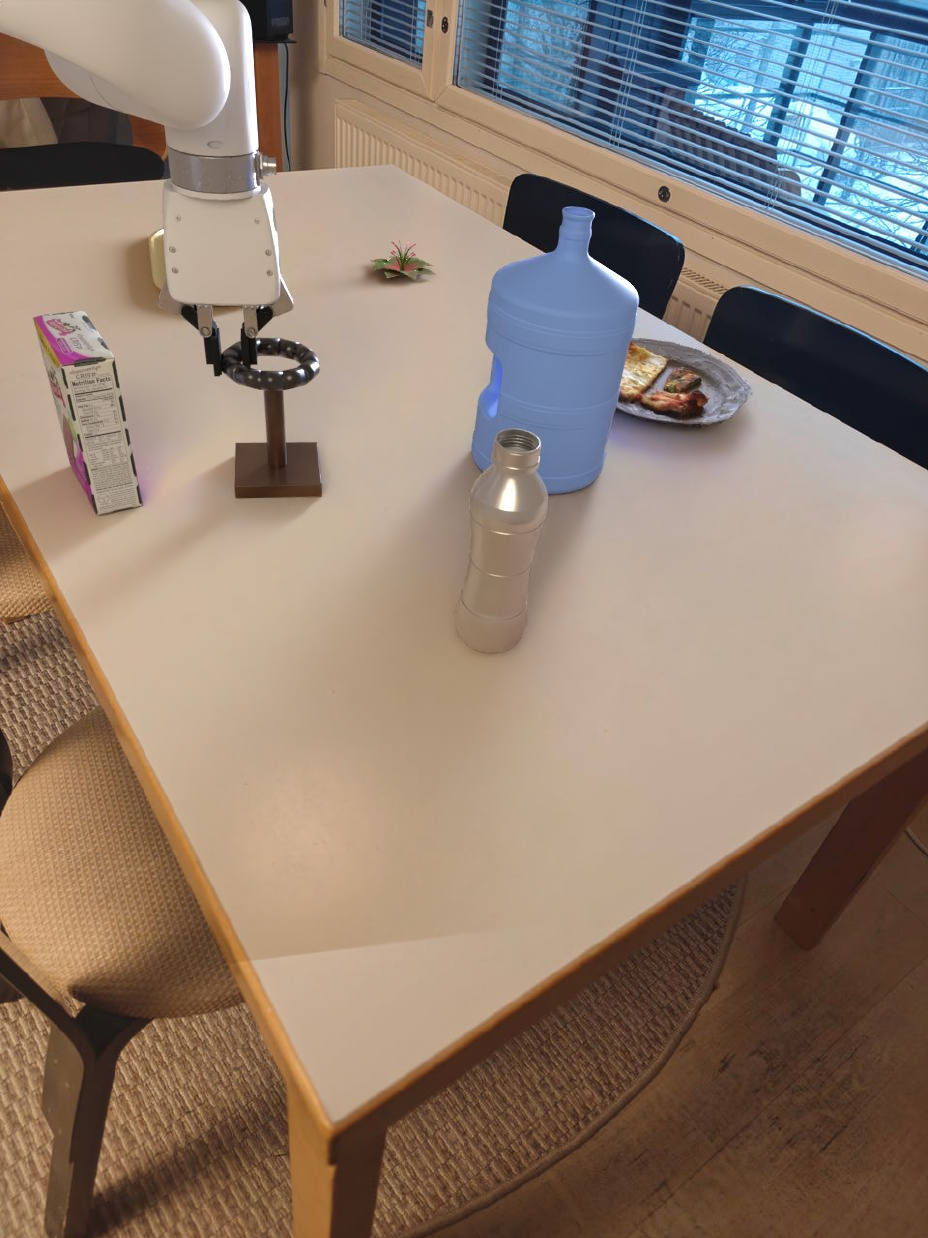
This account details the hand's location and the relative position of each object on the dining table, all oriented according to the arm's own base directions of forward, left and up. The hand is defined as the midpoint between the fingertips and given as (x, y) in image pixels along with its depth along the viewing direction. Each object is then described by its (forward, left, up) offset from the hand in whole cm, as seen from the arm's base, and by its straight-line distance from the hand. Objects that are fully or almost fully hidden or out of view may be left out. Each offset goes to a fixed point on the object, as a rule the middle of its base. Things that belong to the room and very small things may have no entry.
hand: (232, 369), depth 86 cm
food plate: (+56, +20, -13) cm, 61 cm away
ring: (+4, 0, +1) cm, 4 cm away
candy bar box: (-14, -2, -13) cm, 19 cm away
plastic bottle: (+22, -28, -13) cm, 38 cm away
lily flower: (+26, +64, -12) cm, 70 cm away
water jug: (+34, +2, -12) cm, 36 cm away
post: (+4, 0, -12) cm, 13 cm away
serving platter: (-5, +63, -12) cm, 64 cm away
